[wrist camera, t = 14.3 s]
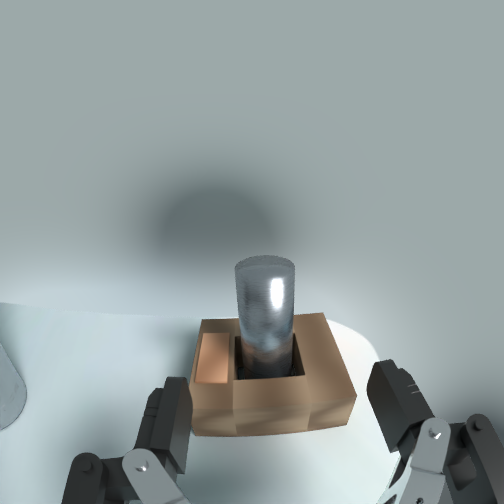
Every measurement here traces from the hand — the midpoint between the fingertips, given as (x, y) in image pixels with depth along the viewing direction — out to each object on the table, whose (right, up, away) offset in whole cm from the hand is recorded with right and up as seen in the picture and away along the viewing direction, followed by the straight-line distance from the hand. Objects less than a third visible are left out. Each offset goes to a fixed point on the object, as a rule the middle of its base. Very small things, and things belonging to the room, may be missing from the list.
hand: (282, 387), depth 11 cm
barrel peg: (0, -7, +13) cm, 14 cm away
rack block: (0, -7, +13) cm, 14 cm away
